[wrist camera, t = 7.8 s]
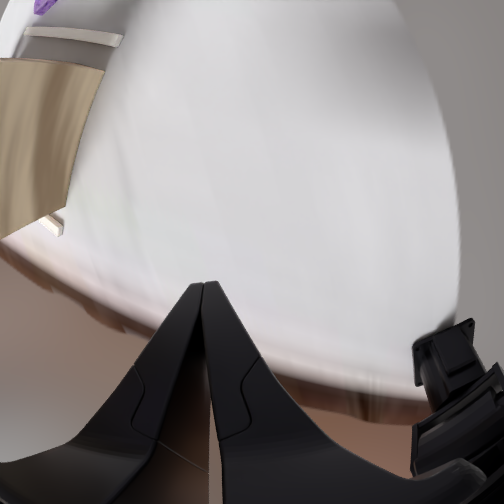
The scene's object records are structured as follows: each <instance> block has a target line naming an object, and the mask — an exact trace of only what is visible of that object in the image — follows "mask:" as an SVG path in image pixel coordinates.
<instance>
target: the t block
mask: <svg viewBox="0 0 504 504" xmlns="http://www.w3.org/2000/svg"><path fill="white" fill-rule="evenodd" d="M104 73H105V71H102V70H99V69H95V68H92V67H88V66H84V65H81V64H77V63H70V62H63V61H54V60H43V59H28V58H0V240H1V239H3V238H4V237H6V236H8V235H10V234H12V233H13V232H15V231H17V230H19V229H21V228H23V227H25V226H26V225H28V224H30V223H32V222H34V221H36V220H38V219H40V218H42V217H44V216H46V215H48V214H51V213H53V212H55V211H57V210H59V209H61V208H63V207H65V205H66V199H67V193H68V188H69V183H70V178H71V174H72V169H73V165H74V161H75V157H76V153H77V149H78V146H79V142H80V139H81V135H82V132H83V129H84V126H85V122H86V119H87V116H88V113H89V111H90V108H91V105H92V102H93V100H94V97H95V94H96V92H97V89H98V87H99V84H100V82H101V80H102V77H103V75H104Z"/></svg>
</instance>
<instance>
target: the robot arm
mask: <svg viewBox="0 0 504 504" xmlns="http://www.w3.org/2000/svg"><path fill="white" fill-rule="evenodd" d="M474 328H475V321H474V320H473V318H469V319H467V320H465V321H463V322H461V323H459V324H457V325H455V326H453V327H451V328H449V329H446V330H444V331H442V332H440V333H438V334H435V335H433V336H431V337H428V338H426V339H424V340H421V341H419V342H416V343H415V344H414V345H413V346H412V356H413V368H414V382H415V386H416V387H419V386H422V385H424V388H425V391H426V394H427V398H428V401H429V404H430V408H431V411H432V415H430V416H429V417H427V418H426V419H424V420H422V421H421V422H418V423H416V424H414V425H413V426H412V447H411V448H412V449H411V464H410V471H411V473H412V475H413V477H412V478H410V479H405V478H402V477H399V476H397V475H395V474H393V473H391V472H389V471H387V470H385V469H383V468H380V467H379V466H376V465H375V464H373V463H371V462H369V461H367V460H365V459H363V458H362V457H360V456H358V455H356V454H354V453H352V452H351V451H349V450H347V449H346V448H344V447H342V446H340V445H339V444H338V443H336V442H335V441H334V440H332V439H331V438H330V437H329V436H328V435H327V434H326V433H324V431H323V430H321V429H320V428H319V427H318V425H316V423H315V422H314V421H313V420H312V419H311V418H310V417H309V416H308V415H307V414H306V413H305V412H304V410H303V409H302V408H301V407H300V406H299V405H298V404H297V403H296V402H295V401H294V399H293V398H292V397H291V396H290V395H289V394H288V393H287V391H286V390H285V389H284V388H283V386H282V385H281V384H280V383H279V381H278V380H277V379H276V377H275V376H274V374H273V373H272V371H271V370H270V368H269V367H268V365H267V364H266V362H265V360H264V359H263V357H261V354H260V352H259V351H258V349H257V348H256V346H255V344H254V343H253V341H252V339H251V338H250V336H249V334H248V332H247V331H246V329H245V327H244V326H243V324H242V322H241V321H240V319H239V317H238V315H237V314H236V312H235V310H234V309H233V307H232V305H231V303H230V302H229V300H228V298H227V296H226V295H225V293H224V291H223V289H222V287H221V286H220V284H219V282H218V281H209V282H205V283H202V282H200V283H192V284H190V285H189V287H188V288H187V289H186V291H185V292H184V293H183V295H182V296H181V297H180V299H179V300H178V302H177V303H176V304H175V306H174V307H173V309H172V310H171V311H170V313H169V314H168V315H167V317H166V318H165V320H164V321H163V322H162V324H161V325H160V327H159V328H158V329H157V331H156V332H155V334H154V335H153V337H152V338H151V339H150V341H149V342H148V344H147V345H146V347H145V348H144V349H143V351H142V352H141V354H140V355H139V357H138V358H137V359H136V361H135V363H134V365H133V366H132V367H131V368H130V369H129V371H128V372H127V374H126V375H125V377H124V378H123V379H122V381H121V382H120V384H119V385H118V386H117V388H116V389H115V391H114V392H113V393H112V394H111V395H110V397H109V398H108V399H107V400H106V402H105V403H104V404H103V405H102V406H101V408H100V409H99V410H98V411H97V412H96V413H95V415H94V416H93V417H92V418H91V419H90V421H89V422H88V423H87V424H86V426H85V427H84V428H83V429H82V430H81V431H80V432H79V433H78V434H77V435H76V436H75V437H74V438H73V439H71V440H70V441H69V442H67V443H65V444H63V445H61V446H58V447H55V448H52V449H50V450H47V451H44V452H41V453H38V454H35V455H32V456H29V457H26V458H23V459H19V460H16V461H12V462H5V463H1V462H0V504H209V474H208V473H209V435H210V404H211V401H212V408H213V414H214V420H215V426H216V432H217V438H218V441H219V448H220V455H221V462H222V496H223V504H504V370H503V369H502V368H501V366H500V365H499V364H498V362H496V363H495V364H494V365H493V366H492V368H491V369H490V370H489V371H488V372H487V371H486V369H485V367H484V365H483V363H482V361H481V359H480V358H479V356H478V354H477V352H476V350H475V349H474V347H473V338H474V337H473V336H474ZM502 390H503V391H502Z"/></svg>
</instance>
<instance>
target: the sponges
mask: <svg viewBox="0 0 504 504" xmlns="http://www.w3.org/2000/svg"><path fill="white" fill-rule="evenodd" d="M56 1H57V0H35V3H34V14H37V15H43V14H44V13H45V12H46V11H47V10H48V9H49V8H50V7H51V6H52V5H53V4H54V3H55V2H56Z"/></svg>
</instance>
